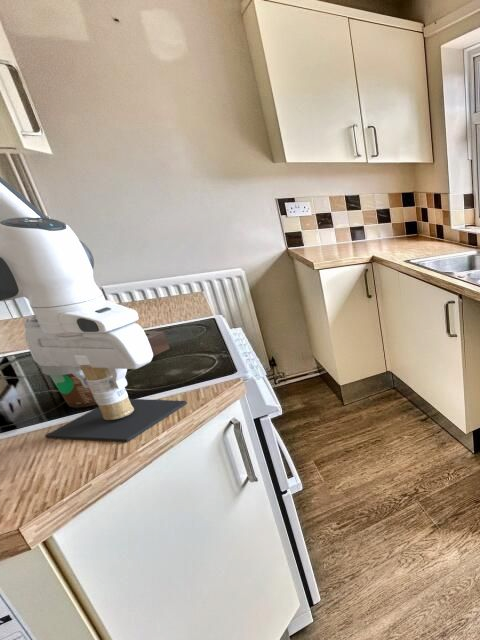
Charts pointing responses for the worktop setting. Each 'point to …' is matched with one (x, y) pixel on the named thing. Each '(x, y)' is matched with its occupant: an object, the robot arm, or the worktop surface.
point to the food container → (70, 386)
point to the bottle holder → (157, 341)
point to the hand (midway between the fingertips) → (106, 386)
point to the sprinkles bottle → (105, 391)
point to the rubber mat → (117, 422)
